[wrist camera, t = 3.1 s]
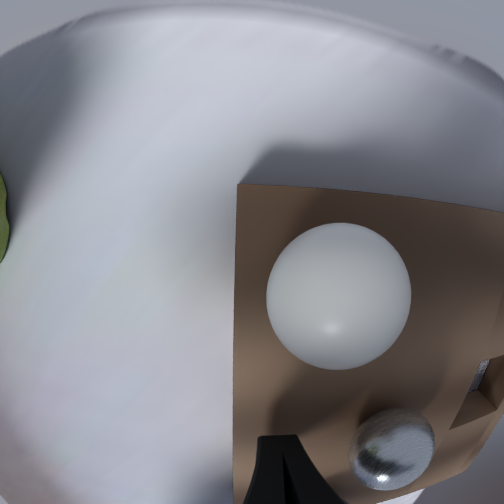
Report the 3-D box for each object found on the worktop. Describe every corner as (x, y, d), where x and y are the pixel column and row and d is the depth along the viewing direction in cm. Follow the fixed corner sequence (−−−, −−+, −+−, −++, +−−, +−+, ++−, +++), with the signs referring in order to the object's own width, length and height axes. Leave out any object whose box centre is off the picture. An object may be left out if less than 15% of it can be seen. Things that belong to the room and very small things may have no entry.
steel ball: (398, 440, 11) (427, 491, 7) (331, 453, 10) (349, 513, 7) (423, 384, 10) (465, 436, 6) (348, 396, 10) (380, 464, 6)
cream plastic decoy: (365, 326, 9) (416, 389, 6) (258, 329, 9) (268, 405, 5) (380, 218, 8) (453, 241, 5) (264, 212, 8) (281, 232, 5)
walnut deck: (452, 450, 15) (465, 470, 13) (233, 490, 14) (233, 520, 12) (533, 219, 11) (563, 226, 9) (238, 184, 10) (237, 183, 8)
